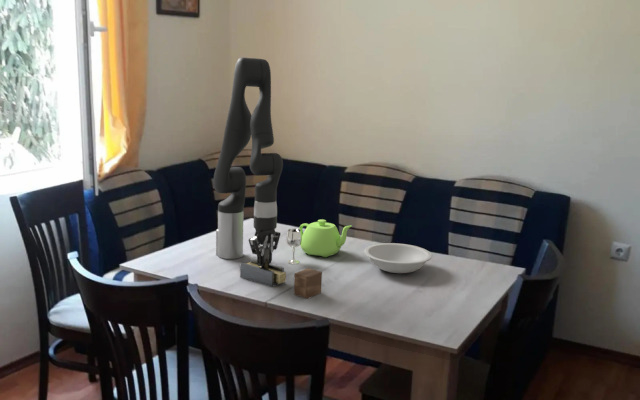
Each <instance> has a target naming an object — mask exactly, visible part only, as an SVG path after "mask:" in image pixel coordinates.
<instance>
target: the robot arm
mask: <svg viewBox="0 0 640 400" xmlns="http://www.w3.org/2000/svg"><path fill="white" fill-rule="evenodd" d="M271 73H272V72H271V67H270V64H269V61H267V60H266V59H264V58H263V59H262V58H255V57H239V58H238V59H237V61H236V63H235V66H234V72H233V78H232V79H233V80H232V89H231V95H230V96H231V98H230V103H229V109H228V113H227V117H226V122H225V127H224V132H223V138H222V139H223V140H222V144H221V148H220V149H221V150H220V153H219V156H218V158H217V163H216V167H215V170H214V173H213V181H212V182H213V188H214V190H215V192H217V193H218V194H229V195H228V197H227V198H224V200H221V201H220V202H218V205H217V229H216V231H215V240H216V241H215V255H216V256H217V257H219V258H221V259H226V260H233V259H234V260H236V259H239V258H242V257H243V256H244V206H245V203H246V202H245V201H246V187H247V177H246V173H245V170H244V168H243V167H241V166H233V167H232V165H233V163H234V161H235V159H236V158H237V157H238V156H239V155H240V154H241V153H242V152H243V150H244V149H245V148H246V147H247V146H248V144H249V143H250V141H251V153H250V160H249V169H250V171H251V173H252V174H253V175H254V176H268V177H267V178H266V179H265V180H263V181H259V182H257V183H256V184H255V186H254V204H253V228H254V229H255V233H254V236H253V237H252V238H249V239H248V243H249V246H250V250H251V253H252V254H253V255H256V260H257V264H258V266H261V267H262V266H264V249H266V247H269V248H270V254H269V264H272V261H273V252H274V250H275V251H276V250H277V248H278V245H279V241H280V237H281V232H280V231H276V229H277V222H278V219H277V218H278V205H277V197H278V196H277V194H278V193H277V190H278V185H279V181H280V177H281V174H282V172H283V168H284V161H283V157H282V156H281V155H280V154H279V153H277V152H270V153H268V152H266V153H265V152H264V153H262V149H265V148H270V147H271V146H273V145H274V143H275V138H274V131H273V122H272V115H271V114H272V113H271V111H272V108H271V107H272V74H271ZM247 87H252V88H253V87H255V88H258V89H259V97H258V99H257V100H258V101H257V104H256V105H255V108H254V109H253V112H252V113H251V111H250V110H249V109H250V108H249V107H248V104H247V101H246V97H245V93H246V88H247ZM260 248H261V252H260Z"/></svg>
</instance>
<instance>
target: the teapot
mask: <svg viewBox="0 0 640 400" xmlns="http://www.w3.org/2000/svg"><path fill="white" fill-rule="evenodd" d="M304 227H306V228H305V230H304V231H303V228H304ZM351 227H352V225H346V226H344V227H343V229H342V232H341V235H340V232H339V230H338V227H337V226H336V225H335V224H334V223H331V222H327V220H326V219H318V220H317V221H314V222H311V223H307V222H306V223H302V224H300V226H299V228H298V229H300V230H301V234H302V243H301V245H300V246H299V247H301V248H300V249H301V250H302V251H303V252H304V253H306V255H308V256H321V257H322V258H328V257H329V256H334V255H336V254H337V253H339V251H340V250H341V248H342V246H344V245H345V243H346V240H347V235H348V230H349V229H350V228H351Z"/></svg>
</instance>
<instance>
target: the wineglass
mask: <svg viewBox="0 0 640 400" xmlns="http://www.w3.org/2000/svg"><path fill="white" fill-rule="evenodd" d="M285 238H286V239H285V241H286V245H287V246H289V247H290V248H292V250H291V251H292V259H289V260H287V263H288V264H290V265H297V264H299V263H300V261H299V260H297V259H295V252H296V248H298V247H301V246H300V245H301V243H302V234H301V230H300V229H299V228H289V229H288V230H287V233H286V237H285Z"/></svg>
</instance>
